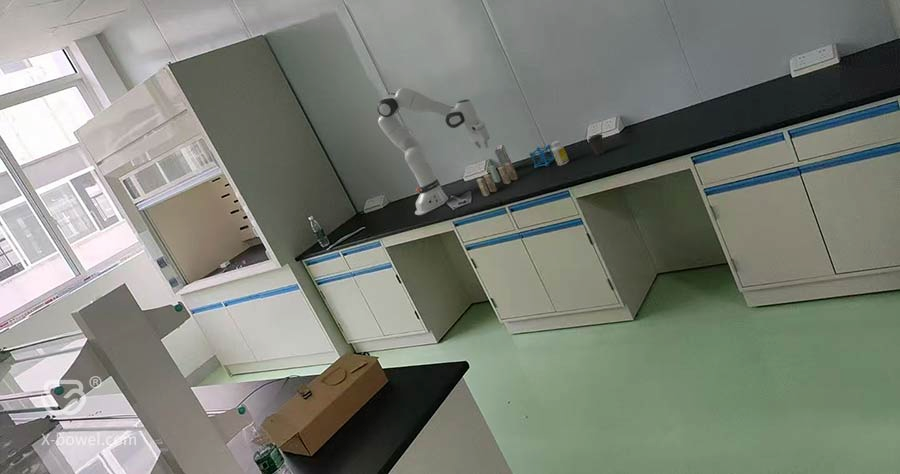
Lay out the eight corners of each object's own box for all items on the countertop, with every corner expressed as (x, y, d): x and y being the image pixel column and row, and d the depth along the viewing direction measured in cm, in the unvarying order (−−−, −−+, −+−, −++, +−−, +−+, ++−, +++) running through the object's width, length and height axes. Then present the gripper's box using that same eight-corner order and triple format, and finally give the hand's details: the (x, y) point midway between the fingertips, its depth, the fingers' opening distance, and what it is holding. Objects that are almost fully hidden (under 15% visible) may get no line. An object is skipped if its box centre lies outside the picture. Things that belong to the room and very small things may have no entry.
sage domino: (498, 182, 378) (491, 167, 375) (494, 182, 382) (487, 167, 379) (501, 180, 378) (494, 165, 375) (497, 180, 383) (490, 165, 380)
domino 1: (487, 196, 360) (480, 180, 357) (483, 195, 365) (476, 179, 362) (490, 194, 361) (483, 178, 358) (486, 194, 365) (479, 178, 362)
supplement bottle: (570, 159, 354) (562, 138, 351) (566, 164, 349) (558, 142, 346) (560, 162, 358) (551, 141, 355) (556, 167, 353) (547, 146, 350)
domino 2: (494, 191, 361) (487, 176, 359) (490, 191, 366) (483, 175, 363) (497, 190, 362) (490, 174, 359) (493, 189, 367) (486, 174, 364)
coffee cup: (609, 151, 336) (603, 134, 333) (595, 157, 337) (588, 140, 334) (606, 149, 344) (599, 131, 341) (592, 155, 345) (585, 138, 342)
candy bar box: (506, 170, 396) (496, 146, 392) (513, 167, 395) (503, 143, 390) (504, 175, 386) (494, 151, 382) (512, 172, 385) (502, 148, 380)
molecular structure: (557, 159, 369) (550, 143, 366) (548, 166, 362) (541, 150, 360) (543, 162, 376) (537, 146, 373) (534, 169, 370) (528, 153, 367)
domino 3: (508, 183, 365) (501, 168, 362) (504, 183, 369) (497, 168, 366) (511, 182, 365) (504, 166, 362) (507, 182, 370) (500, 166, 367)
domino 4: (515, 179, 366) (508, 164, 363) (511, 179, 371) (504, 164, 368) (518, 178, 367) (511, 162, 364) (513, 178, 371) (507, 162, 368)
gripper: (461, 129, 379) (471, 150, 383) (477, 127, 360) (486, 149, 364) (470, 124, 381) (479, 145, 385) (486, 122, 362) (495, 144, 366)
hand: (483, 147), depth 374 cm, fingers open, 8 cm apart
